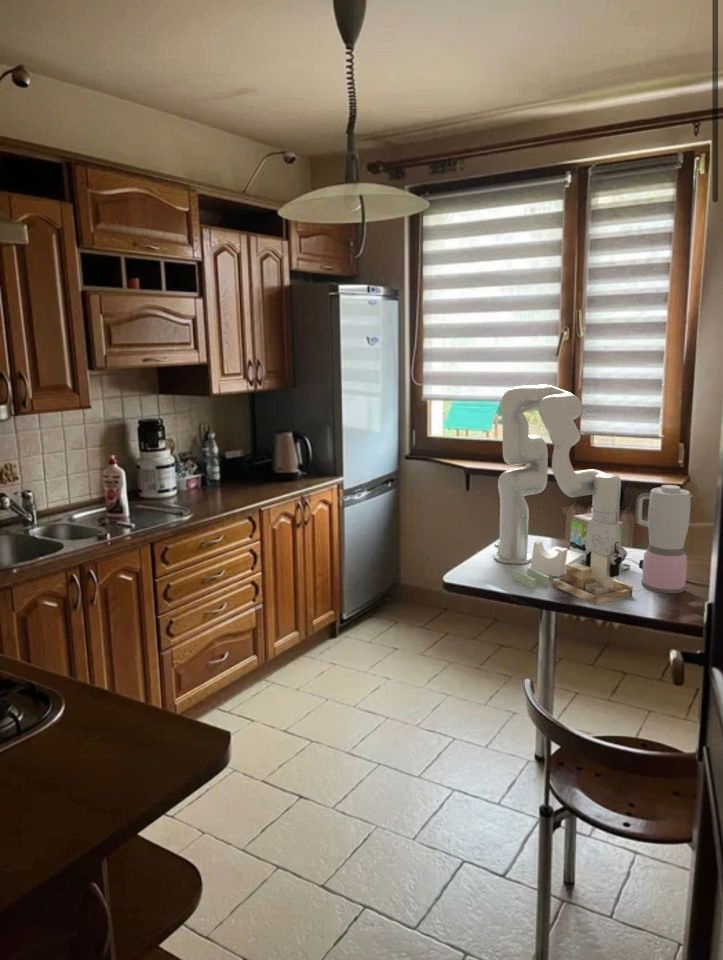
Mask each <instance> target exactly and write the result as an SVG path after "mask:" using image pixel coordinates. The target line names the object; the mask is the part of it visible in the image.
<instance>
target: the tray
mask: <svg viewBox="0 0 723 960" xmlns="http://www.w3.org/2000/svg"><path fill="white" fill-rule="evenodd" d="M595 583H598V582H596V581H595ZM599 584H601V583H599ZM601 585H603V584H601ZM552 586H553V587H555V588H558V589H560V590H562V591H565V592H567V593H569V594H571V595H573V596H576V597H577V598H579V599H582V600H585V601H586V602H589V603H591V604H593V605H601V604H604V603H609V602H613V601H614V602H615V601H618V600H622V599H623V600H624V599H626V598H630V597H633V588H634V587H633V585H630V584H628V583H626V582H624V581H623V582H622V581H620V580H618V579H615V578H613V588H610V587H608V586H606V585H603V586H605V587H607V588H608V594H604V595H600V596H595V595H592V594H590V593H588V592H586V591H583V590H581V589H579V588H576V587H574V586H572V585H569V584H567V583H565V582H562V576H560V577H556V578H552Z"/></svg>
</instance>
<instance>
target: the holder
mask: <svg viewBox="0 0 723 960" xmlns="http://www.w3.org/2000/svg"><path fill="white" fill-rule="evenodd" d="M513 577H514V578H513V580H514V581H516V582H518V583H520V584H522V585H524V586H526V587H528V588H529V589H530V588H531V589H532V590H533V589H537V583H539V584H541V585H544V586H545V587H549V586H550V575H547V574H543V573H540V572H538V571H536V570H533V569H531V567H528V568H527V574H525V573H523V572H521V571H519V570H514V571H513Z"/></svg>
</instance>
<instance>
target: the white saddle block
mask: <svg viewBox="0 0 723 960" xmlns="http://www.w3.org/2000/svg"><path fill="white" fill-rule="evenodd" d="M543 543H544V541H542V540H537V541H535V542H534V543H533V549H532V555H531V556H532V560H531V561H530V568H531V569H533V570H536V571H538V572H540V573H543V574H545V575H547V576H551V577H552V576H553V577H556V578H560V577H562V573H565V572H566V570H567V565H569V564H573V563H578V564H581V565H582V564H583V563H582V562H583V560H582V558H583V554H581V553H577V552H574V551H571V550H570V549H568V548H567V547H560V546H557V545H556V546H553V547H551V548H549V549H548V550H547V551H546V549H545V548H544V544H543Z"/></svg>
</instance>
